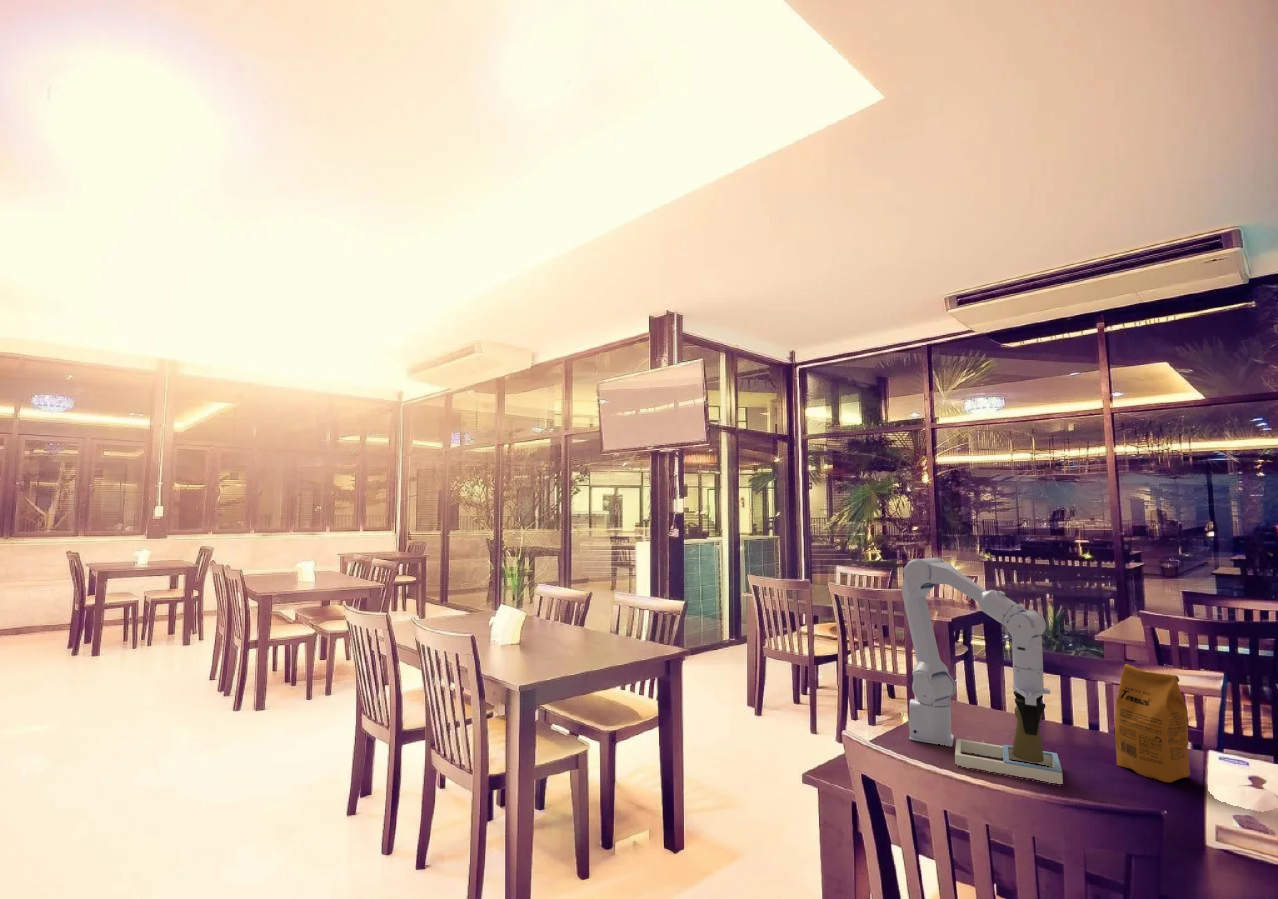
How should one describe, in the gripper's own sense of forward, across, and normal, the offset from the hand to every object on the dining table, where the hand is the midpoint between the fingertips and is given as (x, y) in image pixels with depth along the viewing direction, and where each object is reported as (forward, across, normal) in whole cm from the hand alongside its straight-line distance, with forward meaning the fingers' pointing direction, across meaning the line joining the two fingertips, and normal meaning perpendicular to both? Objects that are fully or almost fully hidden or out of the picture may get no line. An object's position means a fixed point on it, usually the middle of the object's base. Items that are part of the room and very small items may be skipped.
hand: (1030, 730), depth 141 cm
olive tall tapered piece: (+6, 0, +1) cm, 6 cm away
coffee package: (+9, +13, -23) cm, 28 cm away
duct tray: (+9, 0, +5) cm, 10 cm away
